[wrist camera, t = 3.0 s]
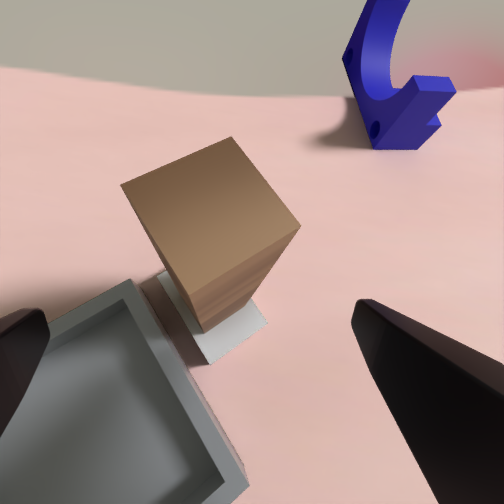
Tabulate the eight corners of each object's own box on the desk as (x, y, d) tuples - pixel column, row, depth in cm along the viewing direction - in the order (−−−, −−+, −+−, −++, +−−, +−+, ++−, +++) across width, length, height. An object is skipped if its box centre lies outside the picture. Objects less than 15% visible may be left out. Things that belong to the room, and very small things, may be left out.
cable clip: (416, 150, 25) (474, 92, 19) (372, 150, 24) (419, 90, 19) (380, 60, 29) (420, -9, 23) (341, 58, 28) (373, -14, 23)
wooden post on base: (263, 325, 17) (368, 270, 6) (210, 364, 16) (206, 393, 5) (213, 251, 19) (216, 84, 7) (160, 282, 17) (59, 141, 6)
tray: (11, 674, 11) (-43, 759, 9) (-77, 412, 13) (-136, 425, 11) (243, 464, 15) (249, 485, 12) (141, 288, 17) (129, 278, 15)
